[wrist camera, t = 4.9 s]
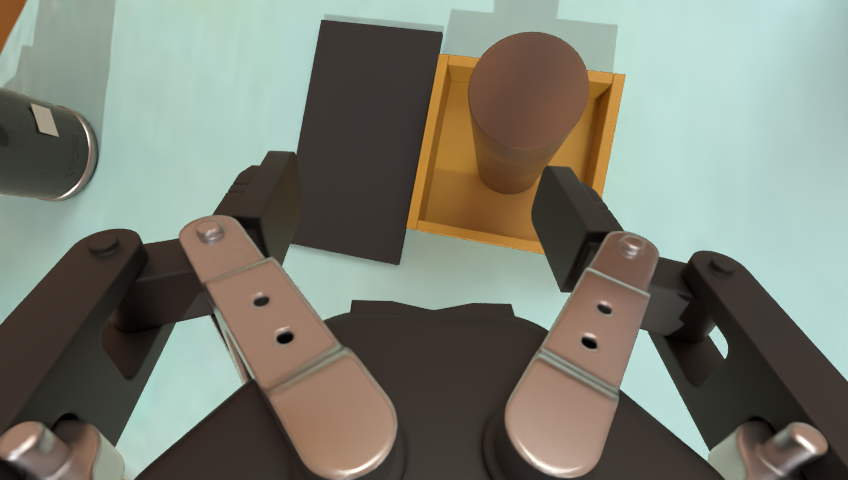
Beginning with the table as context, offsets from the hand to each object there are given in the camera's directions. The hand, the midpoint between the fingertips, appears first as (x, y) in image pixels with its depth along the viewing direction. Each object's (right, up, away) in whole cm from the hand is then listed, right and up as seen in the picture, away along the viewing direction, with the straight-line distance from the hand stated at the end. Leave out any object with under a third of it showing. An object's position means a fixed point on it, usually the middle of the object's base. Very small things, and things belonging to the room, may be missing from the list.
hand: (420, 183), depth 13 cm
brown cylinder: (+7, +4, +19) cm, 21 cm away
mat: (-5, +7, +22) cm, 23 cm away
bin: (+7, +4, +20) cm, 21 cm away
